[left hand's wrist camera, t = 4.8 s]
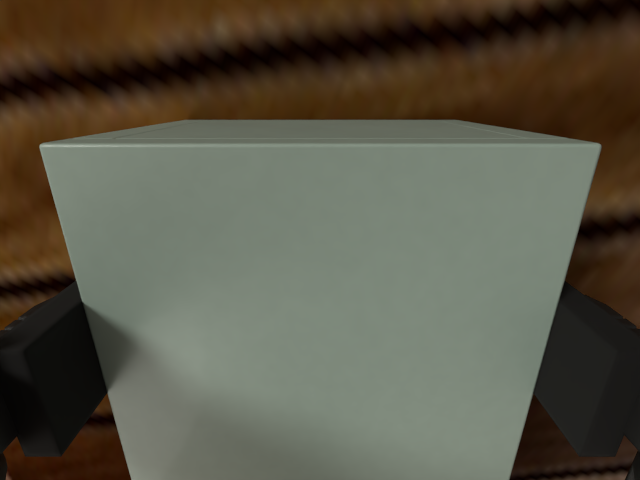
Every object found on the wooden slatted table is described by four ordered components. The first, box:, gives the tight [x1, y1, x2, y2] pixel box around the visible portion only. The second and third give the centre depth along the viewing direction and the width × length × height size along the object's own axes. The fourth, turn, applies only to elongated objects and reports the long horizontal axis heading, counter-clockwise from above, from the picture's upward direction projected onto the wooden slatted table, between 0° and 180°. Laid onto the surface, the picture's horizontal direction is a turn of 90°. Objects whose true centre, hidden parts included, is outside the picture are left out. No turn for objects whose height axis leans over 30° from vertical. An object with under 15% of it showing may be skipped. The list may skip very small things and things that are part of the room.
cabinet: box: [40, 120, 601, 480], centre depth 14 cm, size 16×11×8 cm
